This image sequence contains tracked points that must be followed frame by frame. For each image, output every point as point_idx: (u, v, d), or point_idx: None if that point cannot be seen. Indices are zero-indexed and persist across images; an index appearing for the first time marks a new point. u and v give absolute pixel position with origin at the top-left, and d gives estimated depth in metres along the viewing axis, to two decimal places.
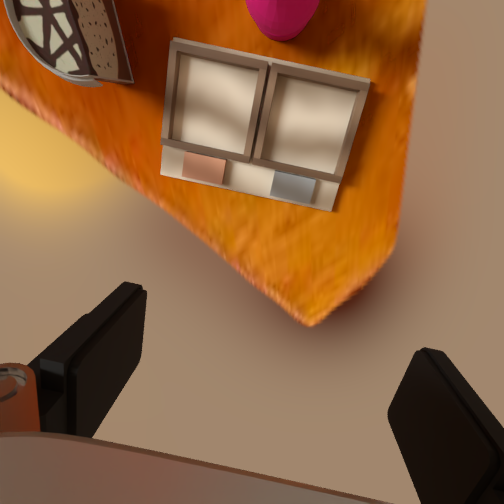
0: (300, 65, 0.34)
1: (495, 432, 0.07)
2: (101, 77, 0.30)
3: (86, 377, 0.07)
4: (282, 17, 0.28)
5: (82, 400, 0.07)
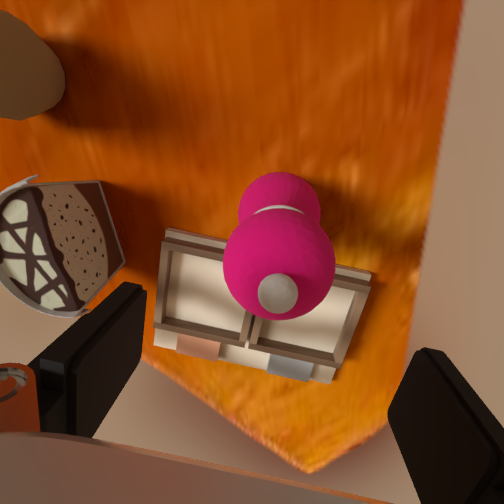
0: None
1: (495, 432, 0.07)
2: (89, 301, 0.28)
3: (86, 377, 0.07)
4: None
5: (82, 400, 0.07)
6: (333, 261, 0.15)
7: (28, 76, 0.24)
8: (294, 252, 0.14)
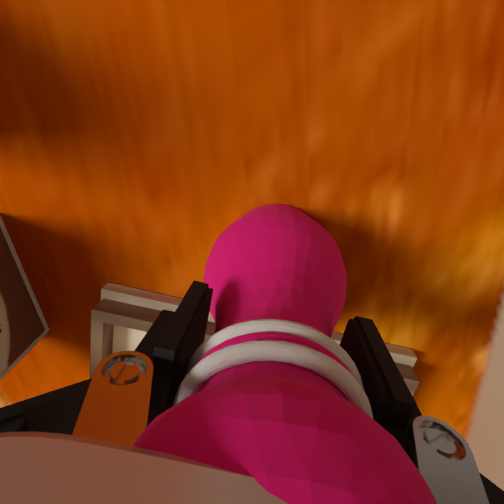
0: None
1: (392, 379, 0.08)
2: None
3: (184, 364, 0.08)
4: None
5: None
6: None
7: None
8: None
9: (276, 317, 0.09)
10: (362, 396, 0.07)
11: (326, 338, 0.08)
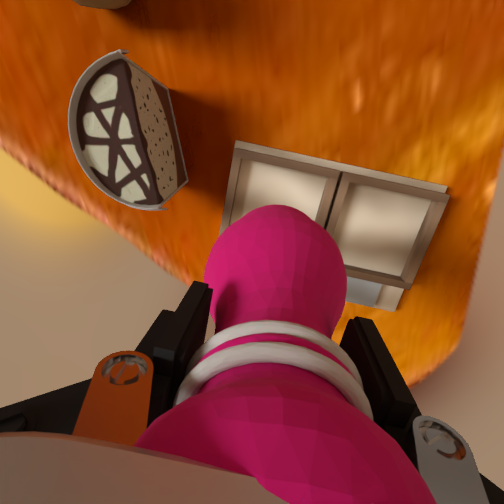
0: (372, 171, 0.31)
1: (392, 379, 0.08)
2: (166, 200, 0.27)
3: (185, 364, 0.08)
4: None
5: (180, 384, 0.08)
6: None
7: None
8: None
9: (276, 318, 0.09)
10: (362, 398, 0.07)
11: (326, 339, 0.08)
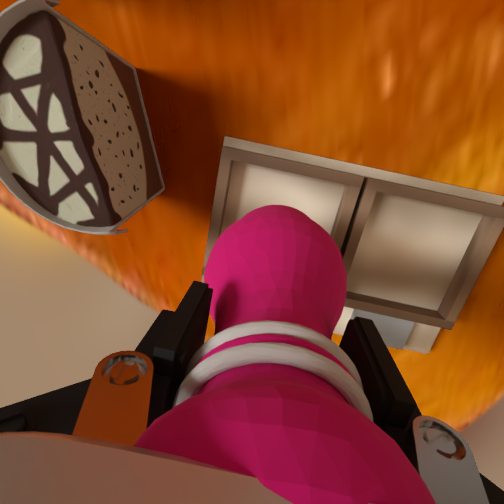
0: (405, 176, 0.24)
1: (392, 379, 0.08)
2: (126, 218, 0.20)
3: (185, 364, 0.08)
4: None
5: (180, 384, 0.08)
6: None
7: None
8: None
9: (276, 319, 0.09)
10: (362, 398, 0.07)
11: (326, 340, 0.08)
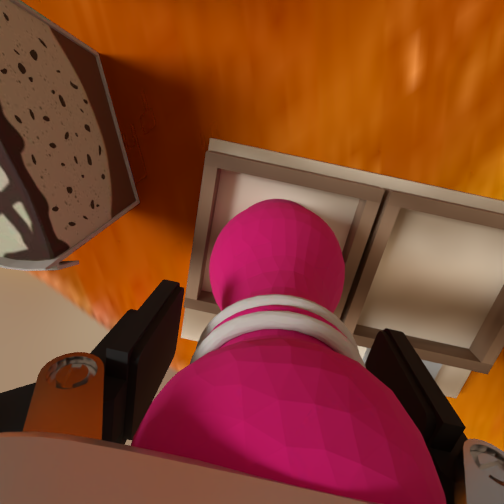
0: (434, 188, 0.19)
1: (435, 398, 0.08)
2: (77, 246, 0.15)
3: (143, 366, 0.08)
4: None
5: (138, 387, 0.08)
6: None
7: None
8: None
9: (280, 295, 0.10)
10: (359, 361, 0.08)
11: (326, 311, 0.09)
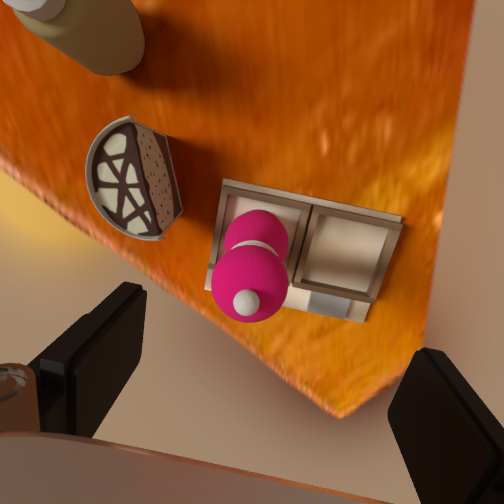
0: (338, 204, 0.37)
1: (495, 432, 0.07)
2: (164, 231, 0.33)
3: (86, 377, 0.07)
4: None
5: (82, 400, 0.07)
6: (285, 281, 0.23)
7: (129, 33, 0.29)
8: (257, 275, 0.21)
9: None
10: None
11: (268, 245, 0.27)
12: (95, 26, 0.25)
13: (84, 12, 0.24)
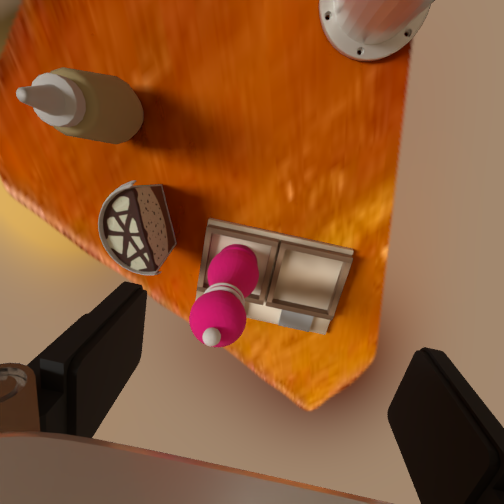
0: (302, 240, 0.46)
1: (495, 432, 0.07)
2: (160, 266, 0.42)
3: (86, 377, 0.07)
4: None
5: (82, 400, 0.07)
6: (242, 319, 0.32)
7: (131, 117, 0.37)
8: (220, 317, 0.30)
9: (225, 283, 0.36)
10: (240, 298, 0.35)
11: (234, 287, 0.35)
12: (105, 123, 0.33)
13: (97, 118, 0.32)
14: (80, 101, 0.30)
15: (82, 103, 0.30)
